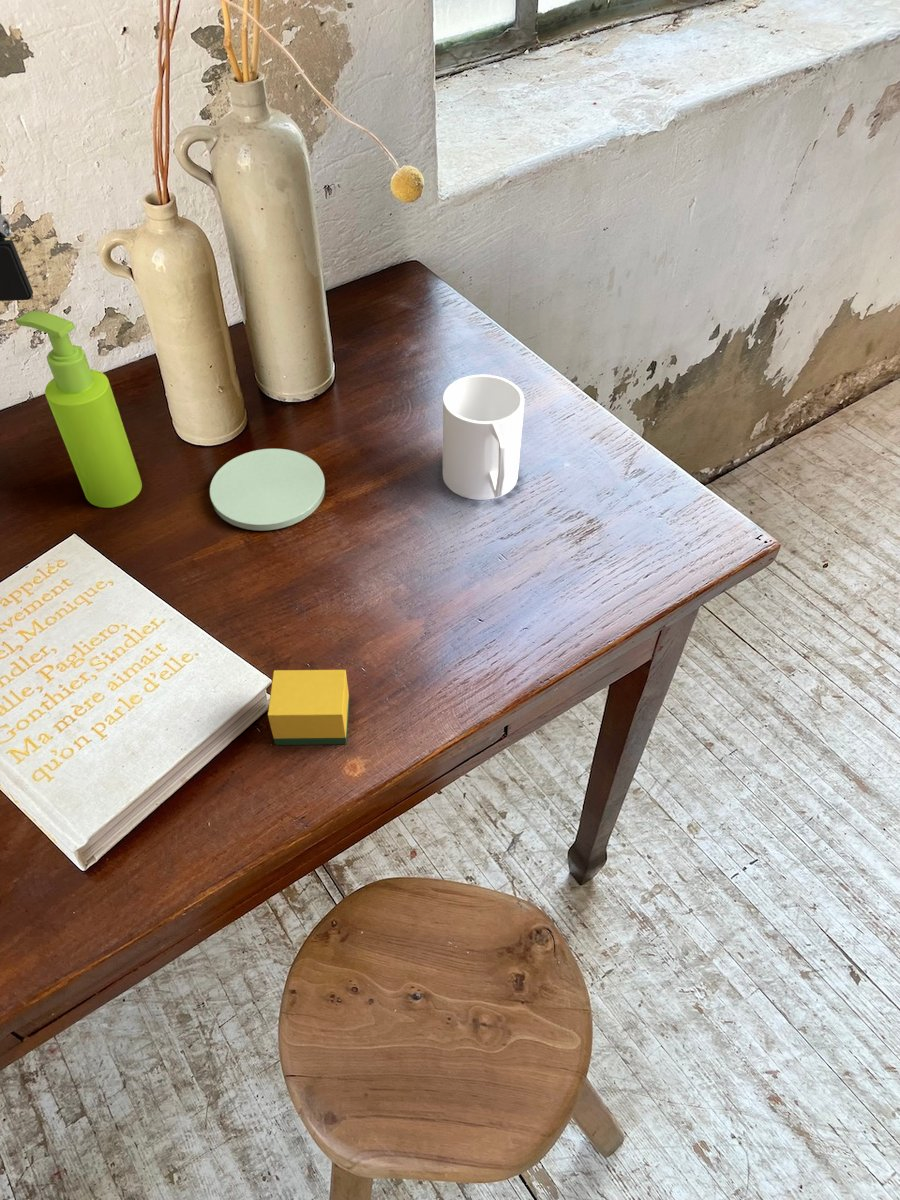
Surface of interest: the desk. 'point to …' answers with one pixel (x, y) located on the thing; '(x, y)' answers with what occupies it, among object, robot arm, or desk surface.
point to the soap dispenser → (87, 417)
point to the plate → (267, 489)
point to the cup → (482, 436)
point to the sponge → (309, 707)
